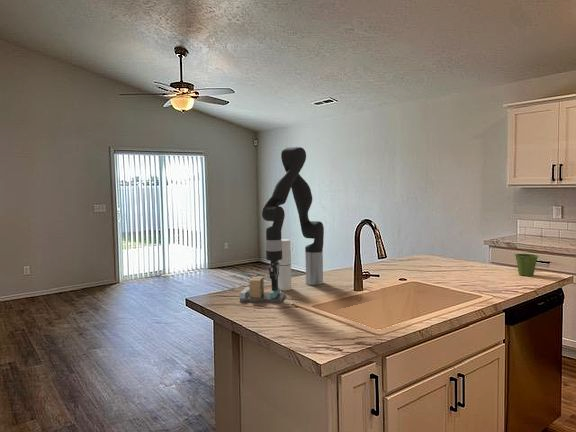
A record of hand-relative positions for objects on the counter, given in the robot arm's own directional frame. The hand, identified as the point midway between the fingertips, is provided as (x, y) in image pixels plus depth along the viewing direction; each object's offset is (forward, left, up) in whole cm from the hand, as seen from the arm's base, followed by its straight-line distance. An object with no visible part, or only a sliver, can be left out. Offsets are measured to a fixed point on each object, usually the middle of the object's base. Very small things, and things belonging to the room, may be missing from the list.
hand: (274, 286), depth 200 cm
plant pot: (-63, +130, -6) cm, 144 cm away
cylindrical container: (-20, +1, -6) cm, 21 cm away
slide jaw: (0, 0, -4) cm, 4 cm away
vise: (0, -6, -6) cm, 8 cm away
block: (0, -9, -5) cm, 10 cm away
